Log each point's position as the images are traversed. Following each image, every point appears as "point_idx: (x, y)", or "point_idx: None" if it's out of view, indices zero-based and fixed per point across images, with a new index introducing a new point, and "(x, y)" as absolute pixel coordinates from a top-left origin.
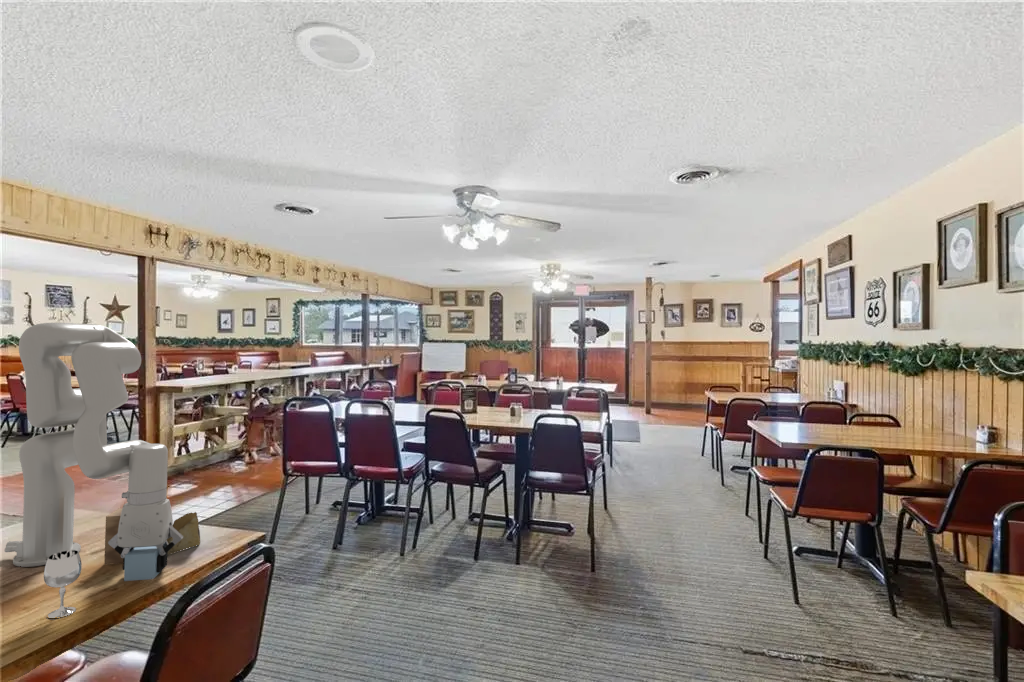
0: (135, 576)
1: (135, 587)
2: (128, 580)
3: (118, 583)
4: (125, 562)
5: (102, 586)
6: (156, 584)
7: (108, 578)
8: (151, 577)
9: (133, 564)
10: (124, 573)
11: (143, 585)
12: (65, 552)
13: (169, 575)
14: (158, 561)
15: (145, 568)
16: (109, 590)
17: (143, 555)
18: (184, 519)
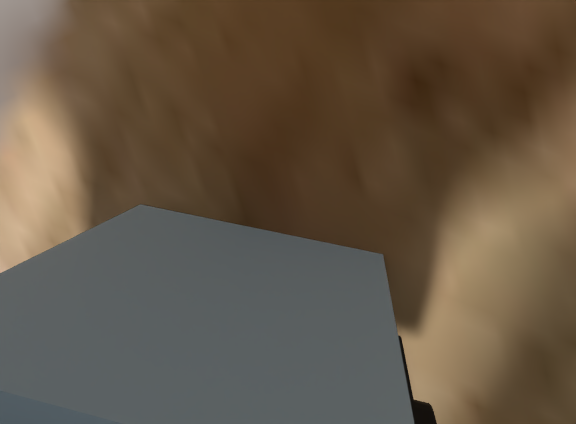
0: (278, 245)
1: (234, 57)
2: (344, 246)
3: (421, 215)
4: (393, 378)
5: (565, 197)
6: (68, 66)
7: (539, 364)
8: (147, 211)
9: (276, 321)
10: (387, 286)
11: (176, 82)
12: None
13: (36, 229)
14: None
15: (154, 258)
16: (474, 65)
17: (59, 381)
18: None
